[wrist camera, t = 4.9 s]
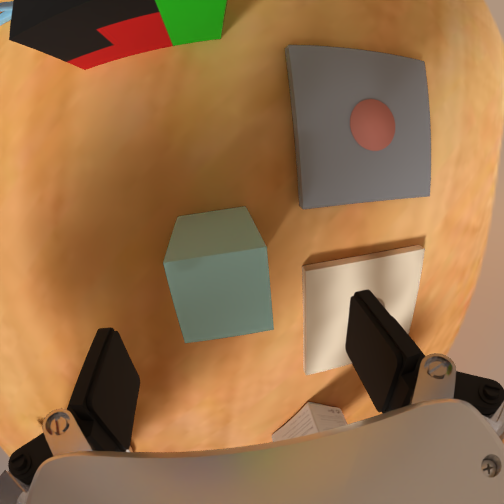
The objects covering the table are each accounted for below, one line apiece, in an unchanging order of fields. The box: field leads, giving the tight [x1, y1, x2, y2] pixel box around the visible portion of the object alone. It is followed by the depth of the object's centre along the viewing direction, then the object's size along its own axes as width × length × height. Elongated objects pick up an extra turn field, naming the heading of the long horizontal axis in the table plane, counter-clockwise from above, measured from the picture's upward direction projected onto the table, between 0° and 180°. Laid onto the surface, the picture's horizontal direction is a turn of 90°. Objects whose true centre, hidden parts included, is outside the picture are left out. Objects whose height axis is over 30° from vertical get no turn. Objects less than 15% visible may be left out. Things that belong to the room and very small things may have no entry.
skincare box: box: [272, 402, 348, 442], centre depth 27 cm, size 8×6×15 cm
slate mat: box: [285, 45, 431, 209], centre depth 20 cm, size 12×12×1 cm
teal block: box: [163, 206, 274, 343], centre depth 19 cm, size 5×5×8 cm
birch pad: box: [302, 245, 425, 375], centre depth 26 cm, size 12×12×1 cm
